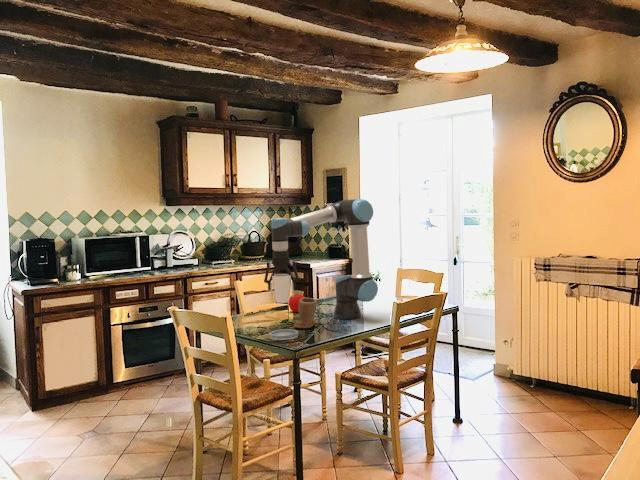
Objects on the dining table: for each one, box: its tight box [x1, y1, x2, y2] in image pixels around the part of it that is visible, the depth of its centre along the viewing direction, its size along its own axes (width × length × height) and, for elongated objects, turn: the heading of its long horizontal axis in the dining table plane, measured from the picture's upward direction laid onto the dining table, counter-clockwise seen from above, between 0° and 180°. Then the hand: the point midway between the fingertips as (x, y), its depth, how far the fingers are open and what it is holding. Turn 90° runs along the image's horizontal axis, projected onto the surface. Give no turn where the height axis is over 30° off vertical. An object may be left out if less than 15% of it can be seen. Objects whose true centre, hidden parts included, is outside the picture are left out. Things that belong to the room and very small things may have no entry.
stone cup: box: [293, 297, 318, 329], centre depth 294 cm, size 15×12×15 cm
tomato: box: [288, 293, 306, 313], centre depth 334 cm, size 10×11×11 cm
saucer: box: [268, 328, 299, 341], centre depth 275 cm, size 14×14×2 cm
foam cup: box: [271, 273, 292, 304], centre depth 273 cm, size 10×9×13 cm
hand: (282, 296), depth 273 cm, fingers closed on foam cup, 9 cm apart
